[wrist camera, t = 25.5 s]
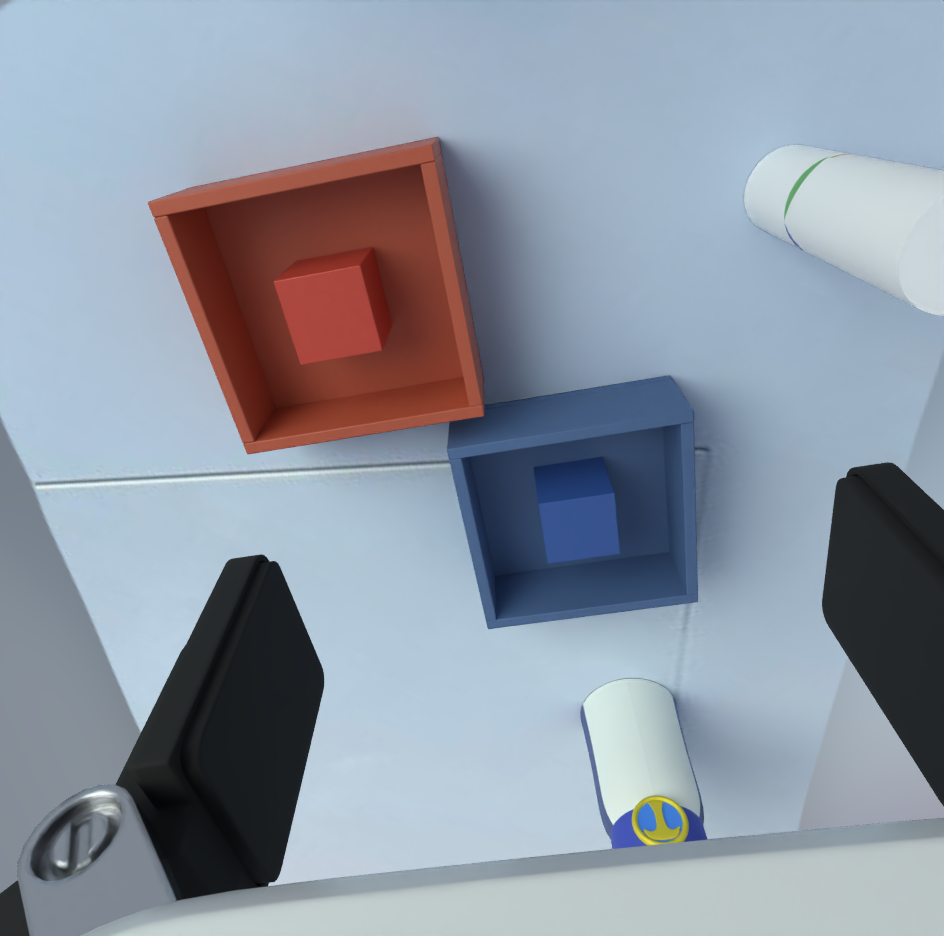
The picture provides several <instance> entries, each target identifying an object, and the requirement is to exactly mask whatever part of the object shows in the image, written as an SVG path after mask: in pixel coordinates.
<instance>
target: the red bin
mask: <svg viewBox="0 0 944 936" xmlns="http://www.w3.org/2000/svg"><path fill="white" fill-rule="evenodd" d="M148 205H149V207H150V210H151V212H152V215H153V217H155V222H156V225H157V227H158V230H159V232H160V235H161V237H162V240H163V242H164V245H165V247H166V250H167V252H168V255H169V258H170V260H171V263H172V265H173V268H174V270H175V273H176V275H177V278H178V280H179V283H180V285H181V288H182V290H183V293H184V295H185V298H186V300H187V303H188V306H189V308H190V311H191V313H192V316H193V318H194V321H195V323H196V326H197V328H198V331H199V333H200V336H201V338H202V341H203V343H204V346H205V349H206V351H207V354H208V356H209V359H210V361H211V364H212V366H213V369H214V371H215V374H216V376H217V379H218V381H219V384H220V386H221V389H222V391H223V394H224V397H225V399H226V402H227V404H228V407H229V409H230V412H231V414H232V417H233V419H234V422H235V424H236V427H237V429H238V432H239V434H240V437H241V440H242V442H243V443H244V447H245V450H246V452H247V454H253V453H259V452H265V451H272V450H278V449H284V448H290V447H296V446H303V445H309V444H315V443H321V442H327V441H333V440H340V439H346V438H352V437H358V436H364V435H371V434H377V433H383V432H389V431H395V430H401V429H408V428H414V427H420V426H426V425H432V424H439V423H445V422H451V421H457V420H463V419H470V418H476V417H482V416H484V377H483V372H482V366H481V361H480V356H479V350H478V345H477V340H476V334H475V329H474V323H473V318H472V313H471V307H470V302H469V297H468V291H467V286H466V281H465V275H464V270H463V265H462V259H461V254H460V249H459V243H458V238H457V233H456V227H455V222H454V216H453V211H452V206H451V200H450V195H449V190H448V184H447V179H446V174H445V168H444V163H443V158H442V152H441V147H440V142H439V137H435V138H430V139H425V140H420V141H415V142H410V143H406V144H401V145H396V146H391V147H386V148H381V149H376V150H371V151H366V152H362V153H357V154H352V155H347V156H342V157H337V158H332V159H327V160H323V161H318V162H313V163H308V164H303V165H298V166H293V167H288V168H284V169H279V170H274V171H269V172H264V173H259V174H254V175H249V176H245V177H240V178H235V179H230V180H225V181H220V182H215V183H210V184H205V185H201V186H196V187H191V188H187V189H185V190H182V191H179V192H176V193H173V194H170V195H167V196H164V197H161V198H158V199H155V200H152V201H150V202H148ZM367 247H373V248H374V252H375V256H376V260H377V264H378V269H379V273H380V277H381V281H382V285H383V289H384V293H385V297H386V301H387V305H388V309H389V313H390V317H391V321H392V327H391V329H390V332H389V335H388V337H387V340H386V343H385V345H384V348H383V351H379V352H373V353H368V354H362V355H356V356H350V357H345V358H339V359H333V360H327V361H322V362H316V363H310V364H304V365H301V364H300V361H299V358H298V355H297V352H296V349H295V346H294V343H293V340H292V337H291V334H290V331H289V328H288V325H287V322H286V319H285V315H284V312H283V309H282V306H281V303H280V300H279V297H278V294H277V291H276V288H275V285H274V281H275V280H276V279H277V278H278V277H279V276H280V275H281V274H282V273H283V272H284V271H285V270H287V269H288V268H289V267H290V266H291V265H292V264H293V263H294V262H295V261H299V260H304V259H309V258H315V257H320V256H325V255H331V254H336V253H341V252H346V251H352V250H357V249H362V248H367Z"/></svg>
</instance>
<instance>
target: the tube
mask: <svg viewBox="0 0 944 936" xmlns="http://www.w3.org/2000/svg"><path fill="white" fill-rule="evenodd" d="M744 204H745V209H746V212H747V214H748V217H749V218H750V220H751V221H752V222H753V223H754V224H755V225H756V226H757V227H759V228H760V229H762V230H764V231H766V232H768V233H770V234H772V235H774V236H776V237H778V238H780V239H782V240H784V241H786V242H788V243H790V244H792V245H794V246H796V247H798V248H800V249H802V250H804V251H806V252H807V253H809V254H811V255H813V256H815V257H817V258H819V259H821V260H823V261H825V262H827V263H829V264H831V265H833V266H835V267H837V268H839V269H841V270H843V271H845V272H847V273H849V274H851V275H853V276H855V277H857V278H859V279H861V280H863V281H865V282H867V283H869V284H871V285H872V286H874V287H876V288H878V289H880V290H882V291H884V292H886V293H888V294H890V295H892V296H894V297H896V298H898V299H900V300H902V301H904V302H906V303H908V304H910V305H912V306H914V307H916V308H918V309H920V310H922V311H925V312H927V313H930V314H935V315H941V316H942V315H944V170H938V169H933V168H927V167H922V166H916V165H911V164H905V163H899V162H894V161H888V160H883V159H877V158H872V157H866V156H860V155H855V154H849V153H844V152H838V151H832V150H827V149H821V148H816V147H810V146H804V145H799V144H797V145H787V146H783V147H780V148H778V149H776V150H774V151H772V152H771V153H769V154H768V155H766V156H765V157H764V158H763V159H762V160H761V161H760V162H759V163H758V164H757V165H756V167H755V168H754V169H753V171H752V173H751V175H750V176H749V178H748V181H747V184H746V187H745V193H744Z"/></svg>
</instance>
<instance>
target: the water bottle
mask: <svg viewBox="0 0 944 936" xmlns="http://www.w3.org/2000/svg"><path fill="white" fill-rule="evenodd" d="M581 721H582V726H583V730H584V734H585V739H586V743H587V747H588V752H589V757H590V761H591V766H592V771H593V777H594V782H595V788H596V794H597V799H598V805H599V810H600V814H601V818H602V822H603V825H604V827H605V830H606V832H607V834H608V836H609V837H610V839H611V843H612V849H618V848H628V847H638V846H648V845H658V844H668V843H678V842H688V841H699V840H707V837H706V833H705V830H704V827H703V823H704V812H703V805H702V800H701V796H700V792H699V788H698V785H697V781H696V778H695V775H694V771H693V768H692V765H691V761H690V758H689V754H688V751H687V747H686V743H685V740H684V736H683V732H682V728H681V724H680V720H679V716H678V711H677V707H676V703H675V700H674V698H673V696H672V695H671V693H670V692H669V691H668V690H667V689H666V688H664V687H663V686H661V685H660V684H657V683H655V682H652V681H649V680H644V679H621V680H617V681H613V682H610V683H607V684H605V685H603V686H601V687H599V688H598V689H596V690H595V691H593V692H592V693H591V694H590V695H589V696H588V697H587V698H586V700H585V701H584V703H583V705H582V708H581Z"/></svg>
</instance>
